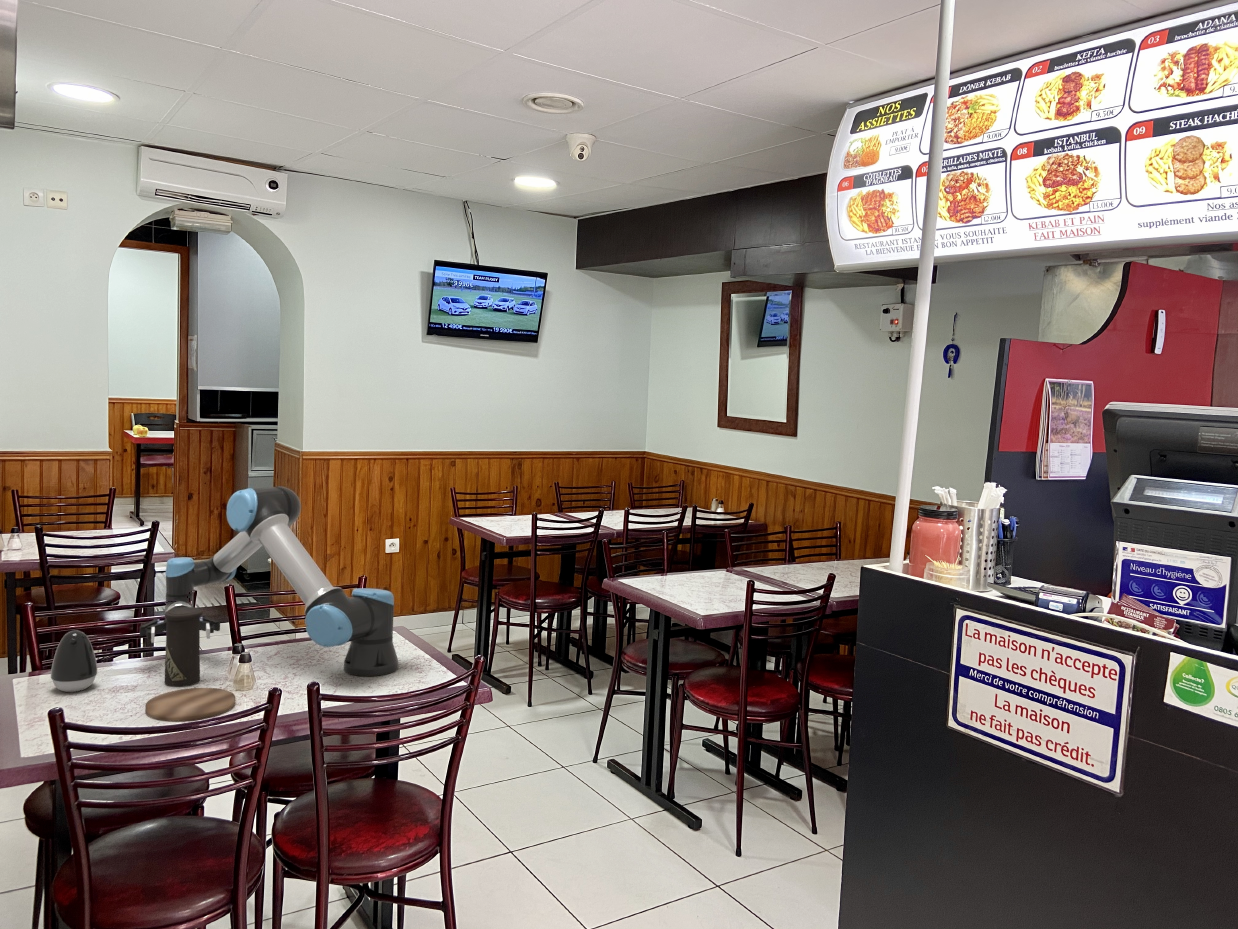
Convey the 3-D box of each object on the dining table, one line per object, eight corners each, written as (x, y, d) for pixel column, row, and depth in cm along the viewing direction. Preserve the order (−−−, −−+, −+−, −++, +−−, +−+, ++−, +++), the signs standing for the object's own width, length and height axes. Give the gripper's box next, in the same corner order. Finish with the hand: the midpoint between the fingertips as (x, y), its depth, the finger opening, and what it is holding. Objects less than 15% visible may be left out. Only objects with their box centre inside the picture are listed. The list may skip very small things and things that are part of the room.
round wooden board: (251, 697, 227) (251, 691, 227) (204, 725, 207) (204, 718, 207) (179, 690, 230) (179, 684, 230) (126, 717, 210) (126, 710, 210)
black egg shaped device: (48, 697, 220) (48, 637, 219) (52, 685, 229) (53, 627, 228) (96, 693, 225) (96, 634, 224) (98, 680, 234) (98, 624, 233)
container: (164, 678, 238) (165, 605, 237) (201, 676, 242) (203, 604, 240) (162, 688, 230) (163, 613, 229) (200, 686, 234) (201, 611, 232)
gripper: (225, 626, 266) (230, 645, 247) (131, 633, 254) (128, 653, 236) (226, 602, 265) (231, 619, 247) (131, 607, 254) (128, 625, 235)
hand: (181, 635), depth 241 cm, fingers open, 13 cm apart
